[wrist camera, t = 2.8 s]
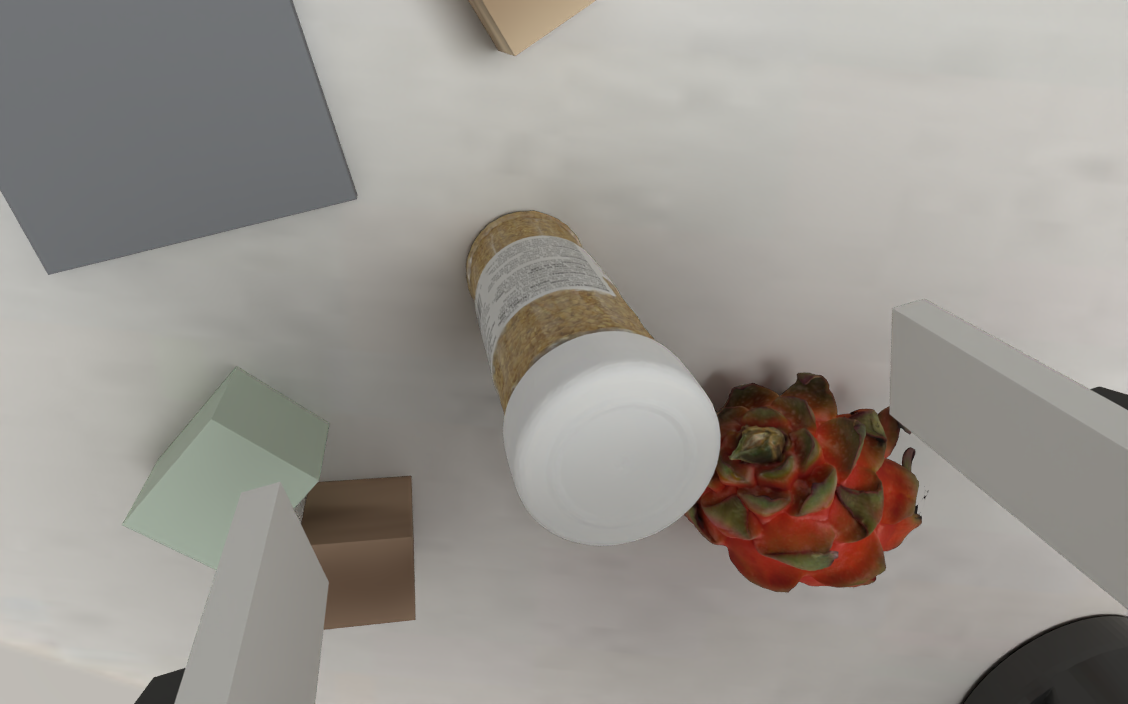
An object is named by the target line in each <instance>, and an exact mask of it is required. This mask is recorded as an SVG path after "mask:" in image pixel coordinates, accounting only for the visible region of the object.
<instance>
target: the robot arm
mask: <svg viewBox="0 0 1128 704" xmlns="http://www.w3.org/2000/svg"><path fill="white" fill-rule="evenodd" d="M889 414H890V415H891V416H892V417H894V418H895V419H896V420H897V421H898V422H900V423H901V424H902V425H903V426H905V427H906V428H907V429H908V430H909V431H911V432H912V433H913V434H914V435H916V436H917V437H918V438H919V439H920V440H922V441H923V442H924V443H925V444H927V445H928V446H929V447H930V448H931V449H933V450H934V451H935V452H936V453H937V454H939V455H940V456H941V457H942V458H944V459H945V460H946V461H947V462H948V463H950V464H951V465H952V466H953V467H955V468H956V469H957V470H958V471H959V472H961V473H962V474H963V475H964V476H966V477H967V478H968V479H969V480H970V481H972V482H973V483H974V484H975V485H977V486H978V487H979V488H980V489H981V490H983V491H984V492H985V493H986V494H987V495H989V496H990V497H991V498H992V499H994V500H995V501H996V502H997V503H998V504H1000V505H1001V506H1002V507H1003V508H1005V509H1006V510H1007V511H1008V512H1009V513H1011V514H1012V515H1013V516H1014V517H1016V518H1017V519H1018V520H1019V521H1020V522H1022V523H1023V524H1024V525H1025V526H1026V527H1028V528H1029V529H1030V530H1031V531H1033V532H1034V533H1035V534H1036V535H1037V536H1039V537H1040V538H1041V539H1042V540H1044V541H1045V542H1046V543H1047V544H1048V545H1050V546H1051V547H1052V548H1053V549H1055V550H1056V551H1057V552H1058V553H1059V554H1061V555H1062V556H1063V557H1064V558H1065V559H1067V560H1068V561H1069V562H1070V563H1072V564H1073V565H1074V566H1075V567H1076V568H1078V569H1079V570H1080V571H1081V572H1083V573H1084V574H1085V575H1086V576H1087V577H1089V578H1090V579H1091V580H1092V581H1094V582H1095V583H1096V584H1097V585H1098V586H1100V587H1101V588H1102V589H1103V590H1105V591H1106V592H1107V593H1108V594H1109V595H1111V596H1112V597H1113V598H1114V599H1115V600H1117V601H1118V602H1119V603H1120V604H1122V605H1123V606H1124V607H1125V608H1126V609H1128V395H1127V394H1123V393H1120V392H1116V391H1113V390H1109V389H1106V388H1103V387H1096V388H1093V389H1088V388H1086V387H1085V386H1083V385H1081V384H1079V383H1077V382H1075V381H1074V380H1072V379H1070V378H1068V377H1066V376H1065V375H1063V374H1061V373H1059V372H1057V371H1055V370H1054V369H1052V368H1050V367H1048V366H1046V365H1044V364H1043V363H1041V362H1039V361H1037V360H1035V359H1034V358H1032V357H1030V356H1028V355H1026V354H1024V353H1023V352H1021V351H1019V350H1017V349H1015V348H1013V347H1012V346H1010V345H1008V344H1006V343H1004V342H1003V341H1001V340H999V339H997V338H995V337H993V336H992V335H990V334H988V333H986V332H984V331H982V330H981V329H979V328H977V327H975V326H973V325H972V324H970V323H968V322H966V321H964V320H962V319H961V318H959V317H957V316H955V315H953V314H951V313H950V312H948V311H946V310H944V309H942V308H941V307H939V306H937V305H935V304H933V303H931V302H930V301H928V300H926V299H922V300H918V301H915V302H911V303H908V304H904V305H901V306H897V307H894V308H892V334H891V373H890V412H889ZM328 585H329V582H328V579H327V577H326V575H325V573H324V571H323V569H322V567H321V565H320V563H319V561H318V559H317V557H316V554H315V552H314V550H313V548H312V546H311V544H310V542H309V540H308V538H307V536H306V534H305V532H304V530H303V527H302V525H301V523H300V521H299V519H298V517H297V515H296V513H295V511H294V509H293V507H292V505H291V502H290V500H289V498H288V496H287V494H286V492H285V490H284V488H283V486H282V484H281V482H277V483H274V484H270V485H266V486H263V487H259V488H256V489H252V490H249V491H245V492H242V493H241V495H240V498H239V501H238V504H237V507H236V511H235V514H234V517H233V520H232V523H231V526H230V529H229V533H228V536H227V539H226V542H225V545H224V548H223V552H222V555H221V558H220V561H219V564H218V567H217V571H216V574H215V577H214V580H213V583H212V586H211V590H210V593H209V596H208V599H207V602H206V605H205V608H204V612H203V615H202V618H201V621H200V624H199V627H198V631H197V634H196V637H195V640H194V643H193V646H192V650H191V653H190V656H189V659H188V662H187V665H186V668H184V669H180V670H177V671H174V672H171V673H167V674H164V675H161V676H157V677H154V678H153V679H152V680H151V682H150V683H149V684H148V686H147V687H146V689H145V690H144V691H143V693H142V694H141V695H140V697H139V698H138V699H137V701H136V702H135V703H134V704H315V699H316V690H317V681H318V673H319V664H320V655H321V646H322V638H323V629H324V620H325V611H326V603H327V594H328ZM964 704H1128V618H1126V617H1119V616H1105V617H1096V618H1090V619H1085V620H1081V621H1077V622H1074V623H1071V624H1068V625H1065V626H1063V627H1060V628H1058V629H1055V630H1053V631H1051V632H1049V633H1047V634H1044V635H1043V636H1041V637H1039V638H1037V639H1035V640H1033V641H1032V642H1030V643H1028V644H1027V645H1025V646H1023V647H1022V648H1020V649H1019V650H1017V651H1016V652H1015V653H1013V654H1012V655H1010V656H1009V657H1008V658H1006V659H1005V660H1004V661H1003V662H1002V663H1000V664H999V665H998V666H997V667H996V668H995V669H993V670H992V671H991V672H990V673H989V674H988V675H987V676H986V677H985V678H984V679H983V680H982V681H981V682H980V684H979V685H978V686H977V687H976V688H975V689H974V691H973V692H972V693H971V694H970V696H969V697H968V698H967V700H966V701H965V703H964Z"/></svg>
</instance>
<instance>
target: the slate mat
mask: <svg viewBox="0 0 1128 704" xmlns="http://www.w3.org/2000/svg"><path fill="white" fill-rule="evenodd" d="M0 190H1V192H2V194H3V196H4V197H5V199H6V201H7V203H8V204H9V206H10V208H11V210H12V212H13V213H14V215H15V217H16V219H17V220H18V222H19V224H20V226H21V227H22V229H23V231H24V233H25V235H26V236H27V238H28V240H29V242H30V243H31V245H32V247H33V249H34V250H35V252H36V254H37V256H38V257H39V259H40V261H41V263H42V265H43V266H44V268H45V270H46V272H47V273H48V275H50V274H54V273H58V272H62V271H66V270H70V269H74V268H78V267H82V266H86V265H91V264H95V263H99V262H103V261H107V260H111V259H115V258H119V257H123V256H127V255H131V254H135V253H139V252H143V251H148V250H152V249H156V248H160V247H164V246H168V245H172V244H176V243H180V242H184V241H188V240H192V239H196V238H200V237H205V236H209V235H213V234H217V233H221V232H225V231H229V230H233V229H237V228H241V227H245V226H249V225H253V224H257V223H262V222H266V221H270V220H274V219H278V218H282V217H286V216H290V215H294V214H298V213H302V212H306V211H310V210H315V209H319V208H323V207H327V206H331V205H335V204H339V203H343V202H347V201H351V200H355V199H357V192H356V189H355V186H354V183H353V180H352V177H351V174H350V171H349V168H348V165H347V162H346V159H345V157H344V154H343V151H342V148H341V145H340V142H339V139H338V136H337V133H336V130H335V127H334V124H333V121H332V118H331V115H330V112H329V109H328V106H327V103H326V100H325V97H324V94H323V91H322V88H321V85H320V82H319V79H318V76H317V73H316V70H315V67H314V64H313V61H312V58H311V55H310V52H309V49H308V46H307V43H306V40H305V37H304V34H303V31H302V28H301V25H300V22H299V19H298V16H297V13H296V10H295V7H294V4H293V1H292V0H0Z"/></svg>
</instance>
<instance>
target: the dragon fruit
mask: <svg viewBox="0 0 1128 704" xmlns="http://www.w3.org/2000/svg"><path fill="white" fill-rule="evenodd" d="M889 412H890V406H889V407H887V408H885V409H884V410H882V411H881V412H880V413H879V414H877V413H876V412H875V410H873V409H859V410H856V411H853V412H851V413H850V414H842V415H837V406H836V402H835V399H834V396H833V394H832V392H831V391H830V389H829V384H828V382H827V380H826V379H825V378H824V377H823V376H821V375H815V374H811V373H797V381H796V383H795V384H793V385H792V386H791V387H790V388H789V389H788V390H786V391H785V392H784V393H783V394H782V395H781V396H779V395H778V394H777V393H776V392H774V391H773V390H770V389H768V388H765V387H762V386H759V385H757V384H755V383H751V384H744V385H741V386H738V387H734V388H733V389H732V391H731V393H730V395H729V398H728V400H727V402H726V404H725V405H724V407H723V408H722V409H721V410H720V411H718V413H717V418H718V422H719V427H720V435H721V437H720V452H719V457H718V462H717V466H716V468H715V471H714V474H713V476H712V478H711V480H710V482H709V484H708V486H707V487H706V489H705V491H704V492H703V494H702V495H701V496H700V498H699V499H698V500H697V501H696V503H695V504H694V505H693V506H692V507H691V508H690V509H689V510H688V511H687V512H686V513H685V514H684V515H685V516H686V517H687V518H688V519H689V521H690V522H692V523H693V524H694V526H695V527H696V528H697V529H698V531H699V532H700V533H701V534H702V535H703V536H704V537H705V538H706V539H707V540H708V541H709V542H711V543H712V544H715V545H724V546H726V547H727V548H728V551H729V557H730V559H731V561H732V563H733V564H734V565H735V566H736V568H737V569H738V571H739V572H740V573H741V574H742V575H743V576H744V577H745V578H746V579H748V580H749V581H750V582H752V583H754V584H756V585H758V586H760V587H763V588H766V589H769V590H772V591H775V592H789V591H790V590H791V589H792V588H794V587H795V586H796V585H797V583H798V582H802V583H805V584H807V585H809V586H832V587H857V586H861V585H868V584H871V583H873V582H874V581H875V580H876V576H877V575H879V574H881V573H882V572H884V571H885V568H886V565H885V559H884V553H883V551H889V550H892V549H894V548H896V547H898V546H899V545H900V544H901V543H902V542H903V540H904V538H905V537H906V536H907V535H908V534H909V533H910V532H911V531H912V530H913V529H915V528H917V527H918V526H919V525H920V524H921V523H922V515H921V516H920V514H917V510H918V505H917V506H915V504H916V497H917V492H918V487H919V481H918V480H917V478H916V476H915V475H914V474H913V473H912V472H911V464H912V460H913V458H914V455H915V449H913V448H911V447H910V448H908V449H907V450H906V451H905V452H904V454H903V458H902V466H901V465H900V464H898V463H896V462H894V461H892V460H889V459H887V457H888V456H889V455H890V454H891V452H892V450H893V449H894V447H895V446H896V443H897V440H898V438H899V432H900V428H902V429H903V430H904V431H905V432H907V433H909V434H911V431H909V430H908V429H907V428H906V427H905V426H903V425H902V424H901V423H900V422H898V421H897V420H896V419H895V418H894V417H892V416H891V415H890V414H889ZM924 487H925V486H924ZM928 491H929V490H928ZM925 497H926V496H924V498H925ZM906 539H907V538H906Z"/></svg>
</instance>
